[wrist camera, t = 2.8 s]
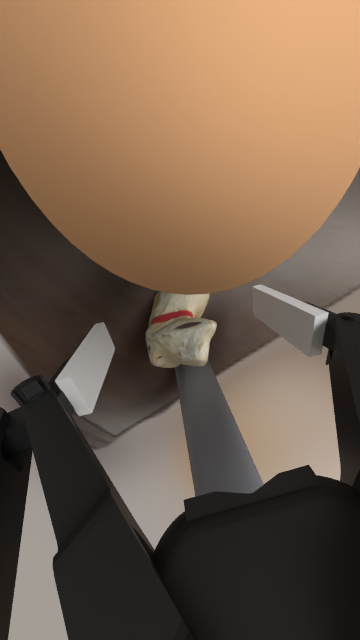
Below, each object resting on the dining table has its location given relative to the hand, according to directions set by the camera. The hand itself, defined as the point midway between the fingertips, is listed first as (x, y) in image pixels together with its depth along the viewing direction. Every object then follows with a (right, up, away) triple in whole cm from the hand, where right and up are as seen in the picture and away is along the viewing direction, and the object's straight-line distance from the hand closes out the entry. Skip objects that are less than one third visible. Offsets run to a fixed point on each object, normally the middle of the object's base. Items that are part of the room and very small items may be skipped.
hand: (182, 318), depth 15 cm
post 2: (+1, -5, +6) cm, 8 cm away
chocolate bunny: (-1, +2, +3) cm, 4 cm away
